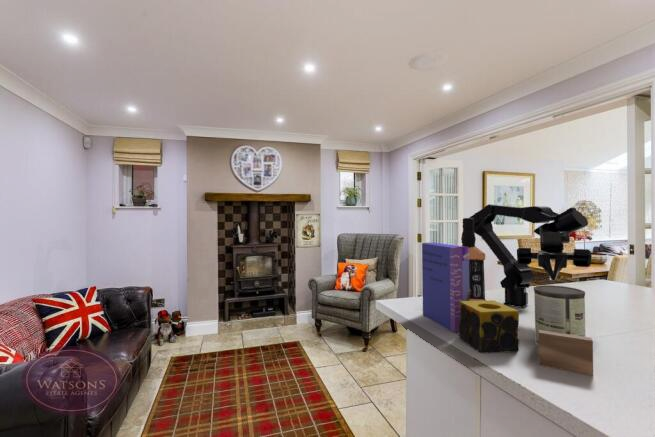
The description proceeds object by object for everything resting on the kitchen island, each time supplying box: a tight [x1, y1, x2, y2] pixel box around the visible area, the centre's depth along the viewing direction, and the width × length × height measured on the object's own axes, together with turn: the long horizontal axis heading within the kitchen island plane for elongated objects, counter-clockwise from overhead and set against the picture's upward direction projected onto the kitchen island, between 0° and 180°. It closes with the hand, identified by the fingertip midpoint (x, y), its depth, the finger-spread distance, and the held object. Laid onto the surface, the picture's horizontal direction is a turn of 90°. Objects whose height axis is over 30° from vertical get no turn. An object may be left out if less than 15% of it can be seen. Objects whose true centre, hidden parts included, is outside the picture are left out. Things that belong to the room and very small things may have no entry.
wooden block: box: [537, 330, 594, 376], centre depth 70 cm, size 8×9×7 cm
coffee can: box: [533, 284, 586, 346], centre depth 79 cm, size 10×10×14 cm
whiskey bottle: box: [460, 217, 487, 301], centre depth 114 cm, size 10×10×32 cm
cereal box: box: [421, 242, 470, 334], centre depth 97 cm, size 17×5×24 cm, turn 12°
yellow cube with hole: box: [458, 299, 520, 354], centre depth 80 cm, size 10×10×10 cm
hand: (553, 279), depth 94 cm, fingers closed
